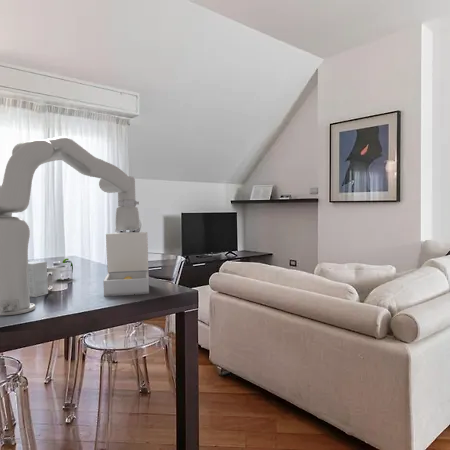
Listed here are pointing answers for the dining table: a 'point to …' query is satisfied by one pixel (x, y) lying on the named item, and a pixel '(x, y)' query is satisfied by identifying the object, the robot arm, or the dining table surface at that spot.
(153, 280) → the dining table surface
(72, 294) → the dining table surface
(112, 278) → the white square tray
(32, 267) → the small box
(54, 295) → the dining table surface
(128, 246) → the lid
